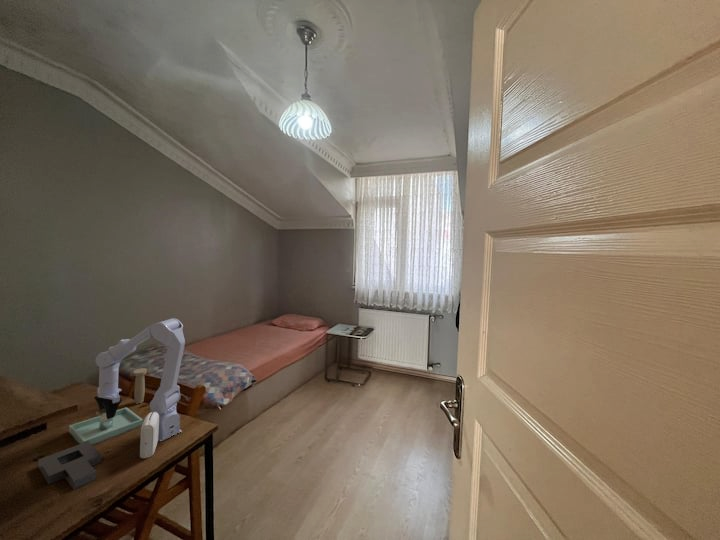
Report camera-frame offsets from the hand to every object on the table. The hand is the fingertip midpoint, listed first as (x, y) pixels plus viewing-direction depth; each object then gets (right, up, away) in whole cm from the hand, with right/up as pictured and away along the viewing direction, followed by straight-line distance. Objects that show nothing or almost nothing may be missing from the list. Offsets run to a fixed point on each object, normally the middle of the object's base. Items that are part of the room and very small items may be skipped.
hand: (107, 415), depth 114 cm
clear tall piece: (-1, -5, 0) cm, 5 cm away
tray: (0, -5, 0) cm, 5 cm away
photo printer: (+24, -7, -10) cm, 27 cm away
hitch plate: (+8, -6, -22) cm, 24 cm away
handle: (-4, -5, +21) cm, 22 cm away
